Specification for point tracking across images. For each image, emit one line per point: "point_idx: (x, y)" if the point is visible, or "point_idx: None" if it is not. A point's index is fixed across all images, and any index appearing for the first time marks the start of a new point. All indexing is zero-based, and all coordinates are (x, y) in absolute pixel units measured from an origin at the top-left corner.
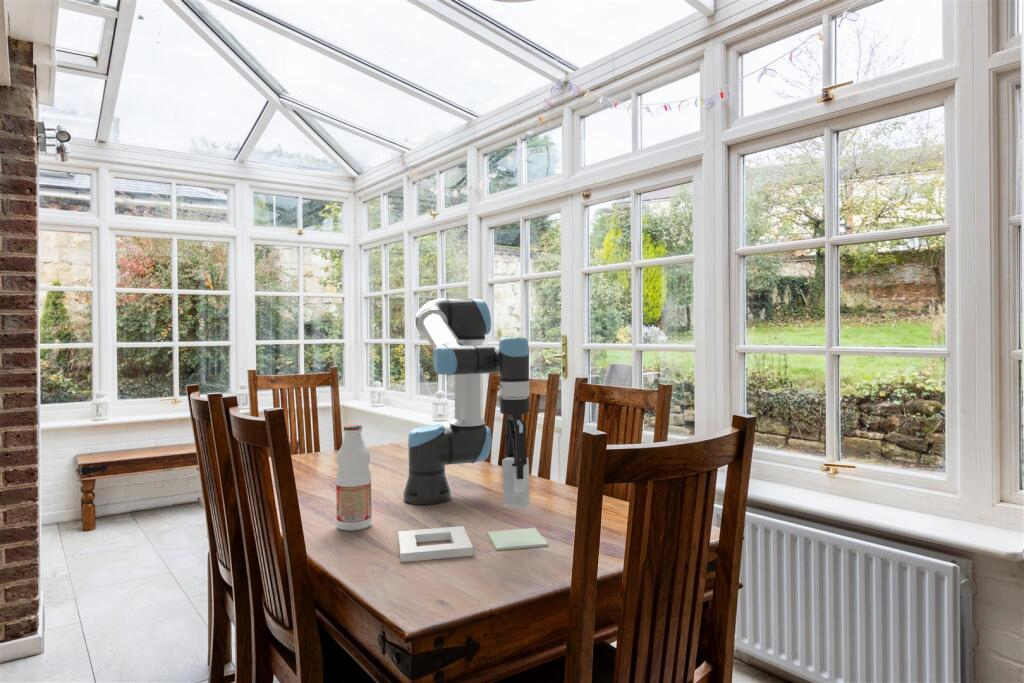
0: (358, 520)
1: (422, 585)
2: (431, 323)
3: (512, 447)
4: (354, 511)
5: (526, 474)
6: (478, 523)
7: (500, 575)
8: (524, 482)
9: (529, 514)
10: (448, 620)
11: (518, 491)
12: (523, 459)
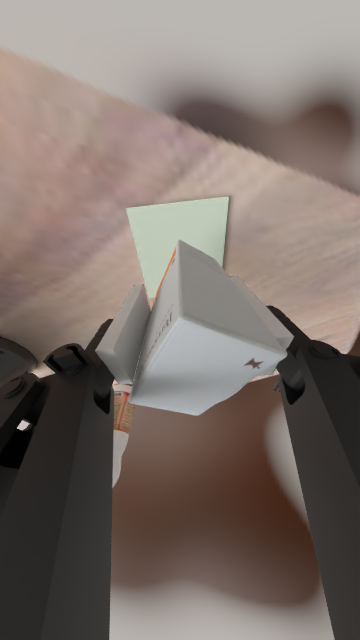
0: None
1: None
2: None
3: (96, 479)
4: (133, 406)
5: (223, 287)
6: (99, 304)
7: (300, 293)
8: (249, 290)
9: (6, 199)
10: (355, 336)
11: None
12: (352, 383)
